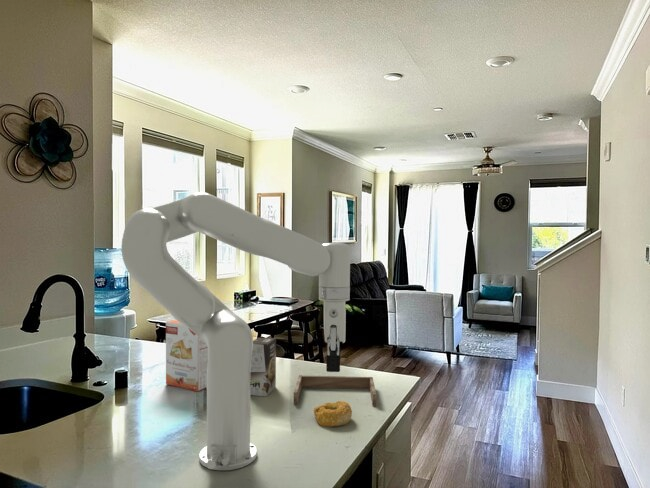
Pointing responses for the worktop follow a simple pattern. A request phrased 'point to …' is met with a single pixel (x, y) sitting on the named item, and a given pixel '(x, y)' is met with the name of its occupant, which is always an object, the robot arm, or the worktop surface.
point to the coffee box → (263, 367)
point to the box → (335, 384)
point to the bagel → (333, 414)
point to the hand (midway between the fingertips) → (333, 366)
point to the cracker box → (185, 357)
